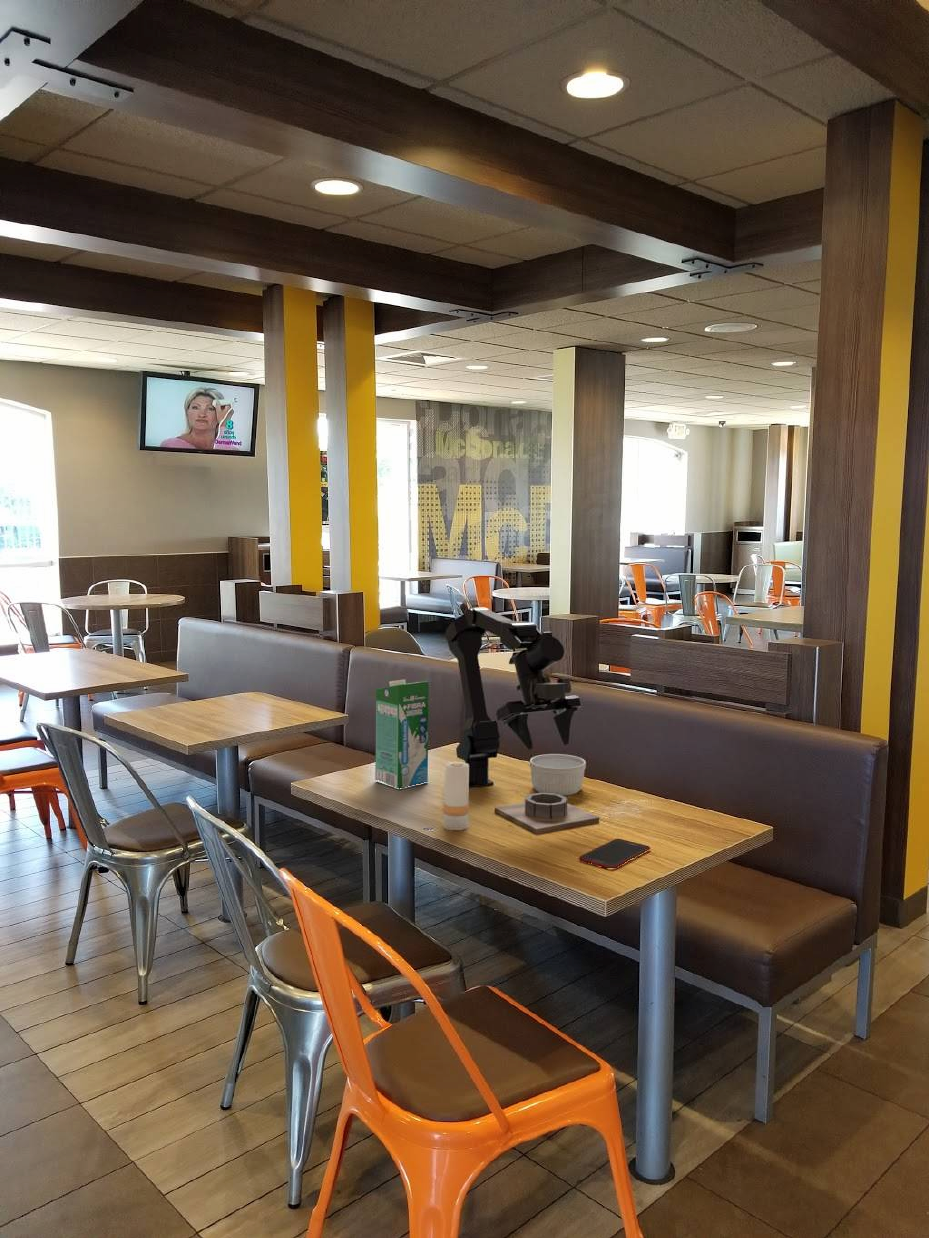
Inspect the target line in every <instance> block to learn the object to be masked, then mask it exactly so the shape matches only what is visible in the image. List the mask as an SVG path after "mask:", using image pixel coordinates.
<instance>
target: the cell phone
mask: <svg viewBox="0 0 929 1238" xmlns="http://www.w3.org/2000/svg"><path fill="white" fill-rule="evenodd" d="M649 849H650V850H651V847H650V846H649V845H646V844H641V843H638V842H635V841H631V840H626V839H622V838H615V839H612V840H610V841H608V842H606V843H604V844H601V845H600V846H598V847H596V848H594V849H592V850H590V851H588V852H586V853H584V854H582V855H580V856H579V857H578V861H579V860H580V861H583V862H586V863H585V864H587V863H590V864H591V863H592V864H596V865H598V866H601V867H603V868H617V867H618V866H620V865H622V864H624V863H625V862H627V861H628V860H630V859H632V858H635V857H636V856H638V855H640V854H642V853H644V852H645V851H647V850H649ZM580 861H579V862H580ZM583 862H582V863H583ZM590 864H589V865H590ZM592 864H591V865H592ZM596 865H595V866H596ZM601 867H600V868H601ZM617 869H618V868H617Z"/></svg>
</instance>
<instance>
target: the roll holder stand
mask: <svg viewBox="0 0 929 1238" xmlns="http://www.w3.org/2000/svg"><path fill="white" fill-rule="evenodd" d="M568 800H569V799H568V797H566V796H565V795H563V796H562V795H559V794H554V793H540V792H536V793H530V794H527V795H526V797H525V798H524V802H520V803H513V804H507V805H501V806H495V807H494V813H496V814H497V815H499V816H501V817H503V818H505V819H507V820H509V821H510V822H512V823H515V824H517V825H519V826H521V827H523V828H525V829H526V830H529V832H532V833H534V834H535V835H536V834H543V833H546V832H547V833H548V832H553V831H554V832H555V831H560V830H563V829H569V828H574V827H579V826H585V825H590V824H596V823H597V824H598V823H599V822H600V817H599V816H597V815H594V814H593V813H590V812H589V811H586V810H583V809H581V808H579V807H577V806H575V805H572V804H570V803H568Z"/></svg>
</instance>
